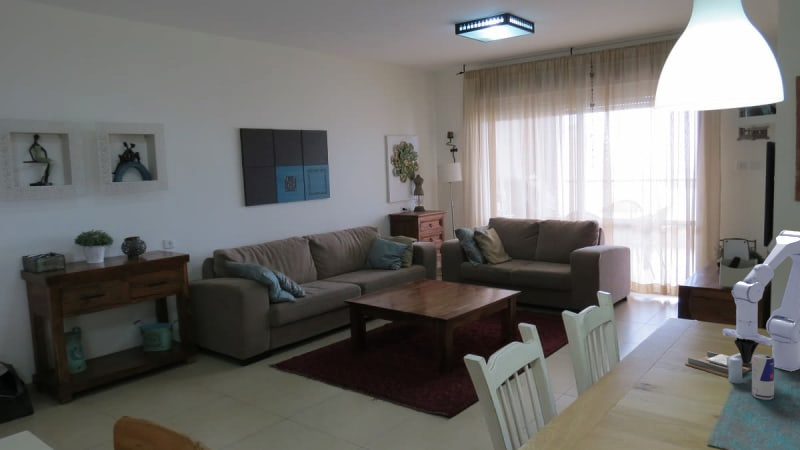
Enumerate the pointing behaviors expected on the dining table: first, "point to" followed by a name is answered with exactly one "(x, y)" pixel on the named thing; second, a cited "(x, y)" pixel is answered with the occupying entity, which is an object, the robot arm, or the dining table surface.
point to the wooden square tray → (714, 365)
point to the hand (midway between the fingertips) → (746, 362)
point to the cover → (723, 359)
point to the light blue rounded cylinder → (735, 370)
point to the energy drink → (763, 376)
